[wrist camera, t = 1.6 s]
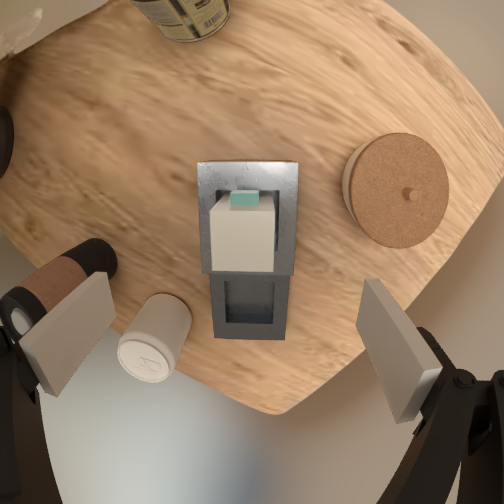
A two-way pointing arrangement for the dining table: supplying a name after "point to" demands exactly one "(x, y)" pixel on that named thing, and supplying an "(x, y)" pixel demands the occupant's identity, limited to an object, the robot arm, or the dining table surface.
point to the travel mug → (54, 285)
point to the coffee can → (186, 17)
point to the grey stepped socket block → (243, 282)
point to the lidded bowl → (396, 189)
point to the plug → (243, 231)
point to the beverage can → (155, 338)
